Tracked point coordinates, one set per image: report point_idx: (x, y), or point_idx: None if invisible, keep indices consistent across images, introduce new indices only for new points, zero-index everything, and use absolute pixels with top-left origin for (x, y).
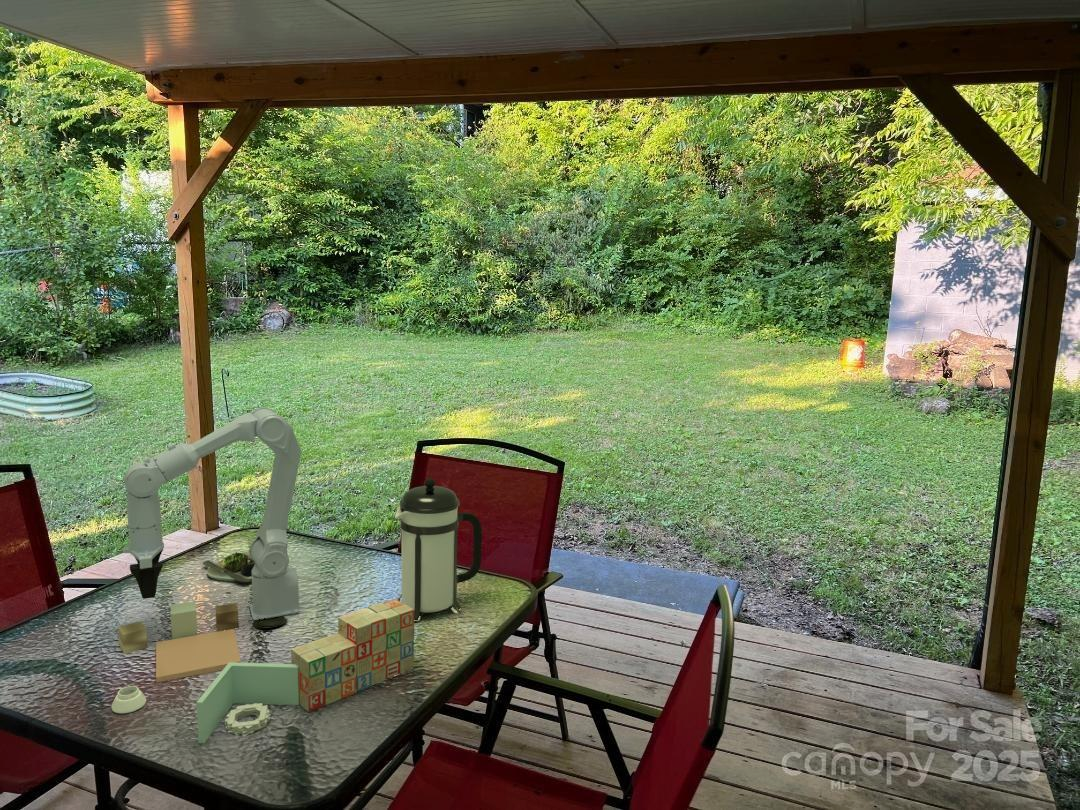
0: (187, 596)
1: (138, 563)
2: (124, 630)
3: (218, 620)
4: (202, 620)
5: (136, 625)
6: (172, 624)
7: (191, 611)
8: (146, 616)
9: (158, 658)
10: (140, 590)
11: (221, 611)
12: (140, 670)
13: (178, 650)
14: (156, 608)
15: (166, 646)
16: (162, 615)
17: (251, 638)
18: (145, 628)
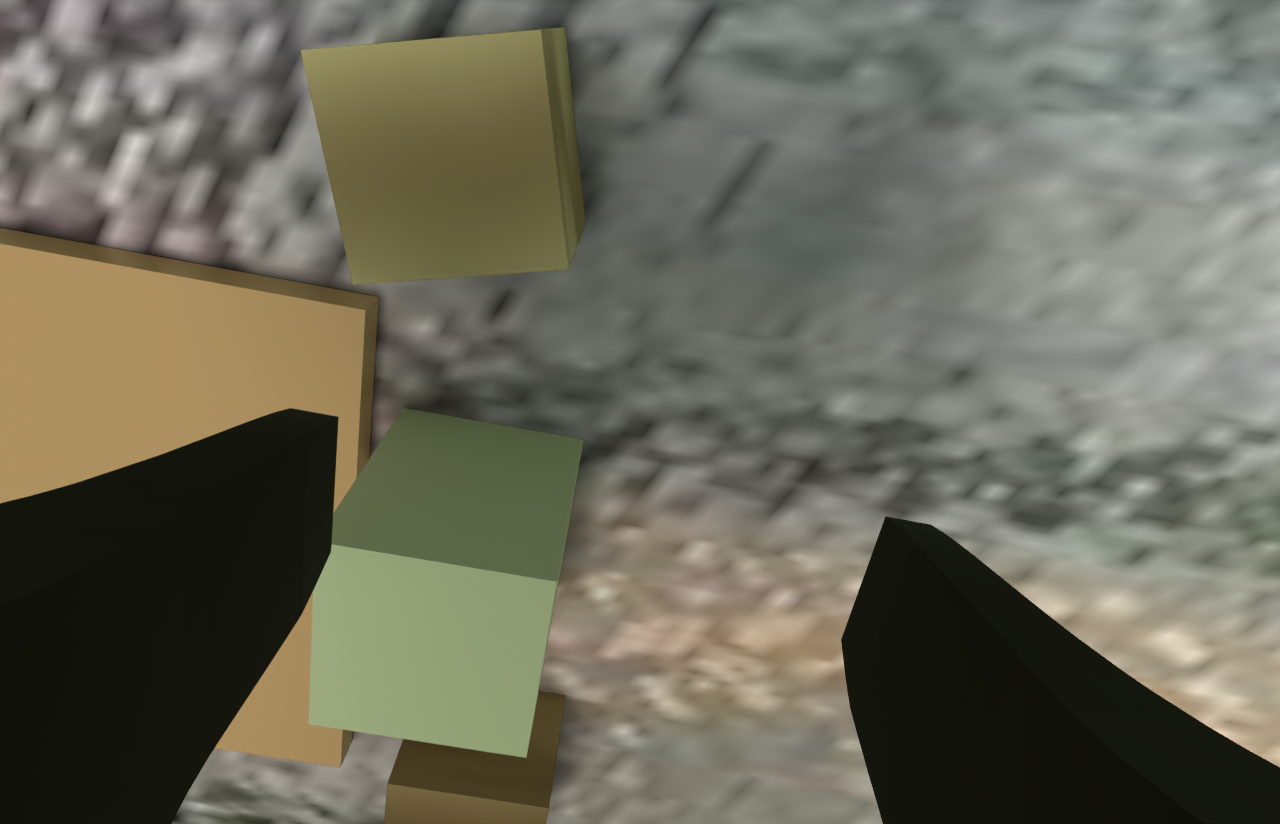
0: (1186, 655)
1: (1074, 730)
2: (405, 80)
3: (403, 747)
4: (674, 643)
5: (481, 214)
6: (353, 492)
7: (310, 690)
8: (1038, 337)
9: (44, 269)
10: (186, 448)
11: (419, 816)
12: (3, 113)
13: (136, 421)
14: (1142, 432)
15: (249, 362)
16: (962, 444)
17: (236, 791)
18: (359, 277)
